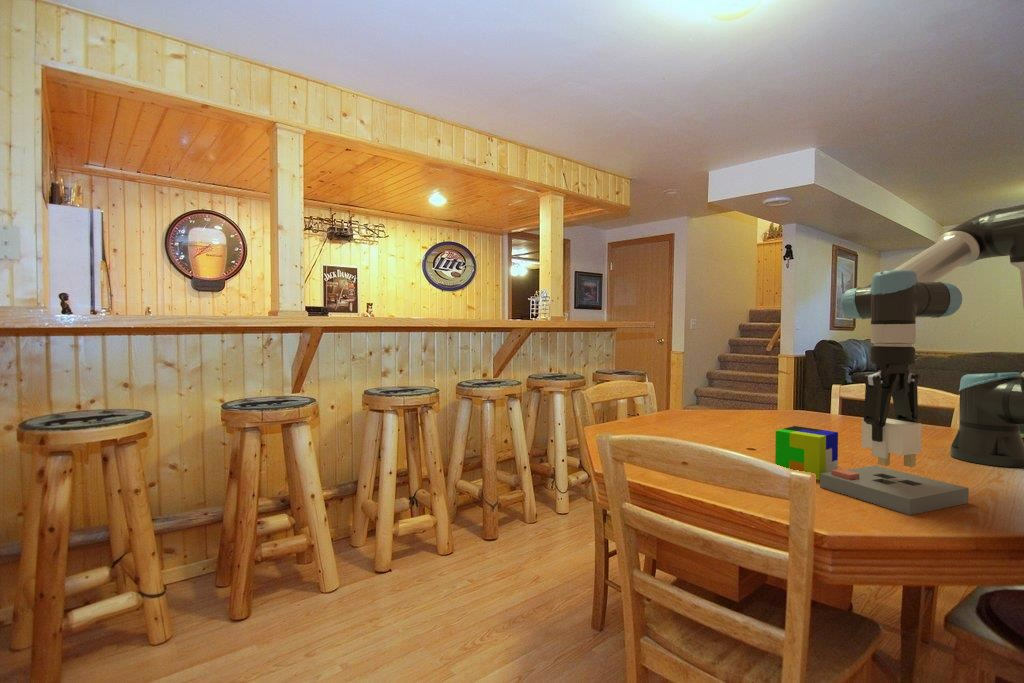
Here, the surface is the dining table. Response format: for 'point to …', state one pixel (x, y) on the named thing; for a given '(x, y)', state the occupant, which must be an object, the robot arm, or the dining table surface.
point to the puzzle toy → (807, 449)
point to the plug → (897, 440)
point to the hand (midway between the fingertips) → (890, 455)
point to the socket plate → (894, 489)
